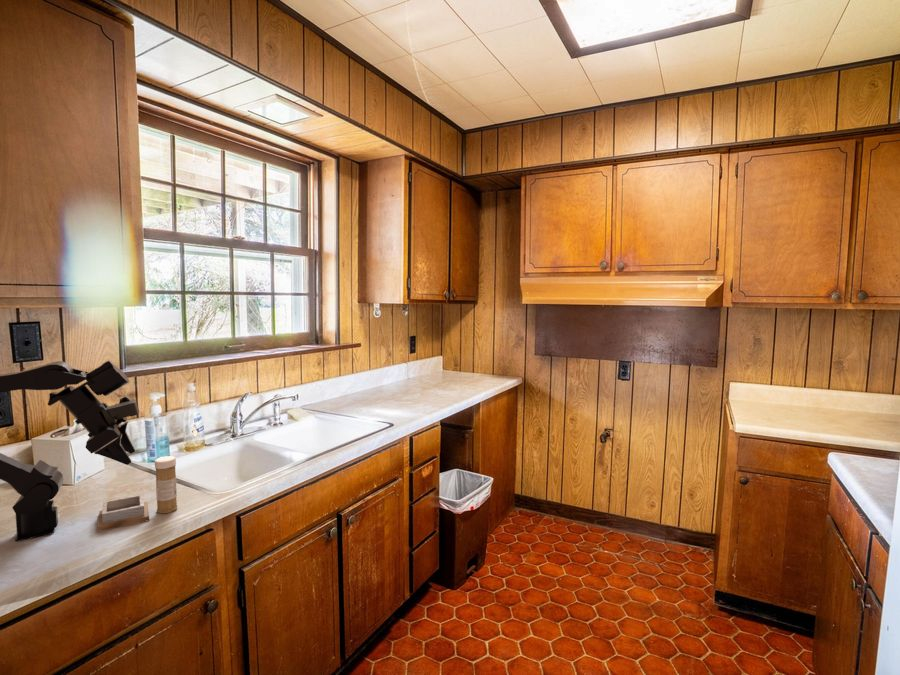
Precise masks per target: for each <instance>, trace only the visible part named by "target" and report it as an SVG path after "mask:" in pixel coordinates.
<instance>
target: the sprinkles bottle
mask: <svg viewBox="0 0 900 675" xmlns="http://www.w3.org/2000/svg"><path fill="white" fill-rule="evenodd" d="M176 465H177V459H176V456H173V455H165V456H161V457H157V458H156V459H155V460H154V468H155V480H156V481H155V486H156V488H155V491H156V492H155V495H156V506H157V507H156V513H158V514H169V513H172V512H174V511H176V510H177V509H178V504H177V501H178V500H177V494H178V493H177V489H178V488H177V475H176Z"/></svg>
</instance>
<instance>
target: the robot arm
mask: <svg viewBox="0 0 900 675" xmlns="http://www.w3.org/2000/svg"><path fill="white" fill-rule="evenodd" d="M129 380H130V379H129V378H128V377H127V376H126V374H125V373H124V371H123V370H122V369H120V368H118V367H117V366H116V365H115V364H114V363H113V362H112V361H111V360H106V361H105V362H103V363H102V364H101V365H99V366H97V368H94V369H93V370H91V371H86V370H82V369H81V370H80V369H77V368H73V367H72V366H71V365H70V364H69V363H67V362H65V361H60V360H58V361H51V362H48V363H45V364H42V365H41V364H40V365H38V366H35V367H31V368H28V369H25V370H21V371H16V372H9V373H3V374H0V393H5V392H6V393H7V392H13V391H20V390H21V391H22V390H29V391H52V392H50V393H49V396H48V397H49V399H48V402H47V405H48V406H50V407H51V406H53V405H54V404H56V403H58V402H59V403H60V404H62V406H64V408H65V409H66V410H67V411H68V412H69V413H70V414H71V416H73V417H74V418H75V420H74V422H75V423H76V425H81V426H82V427H83V428H84V429H85V430H86V431H87V432H88V433H87V436H88V437H89V438H88V439H87V440H86V443H85V449H86V450H87V451H88V452H89V453H90V454H93V453H94V455H99V456H101V457H104V458H108V459H111V460H114V461H116V462H118V463H122V464H124V465H129V464H131V463H132V460H131V458H130V456H129V455H128V453H129V454H134V453H135V452H136V450H135V447H134V445H133V443H132V441H131V439H130V437H129V435H128V432H127V428H128V422H129V421H127V420H128V417H135V416H138V415H139V413H140V410H139V407H138V406H139V405H138V401H137V400H136V399H131V398H130V397H129V396H128V395H127V396H122V397H120V399H119V402H118V403H115V404H113V405H109V404H107V402H101V401H100V400H99V399H98V397H97V396H104V397H108V396H109V395H110V394H112V393H114V392H115V391H118V390H119V389H121V388H122V387H124V386H126V385H127V384H129V383H130V381H129ZM83 381H85V382H83ZM82 382H83V383H82ZM80 383H82V384H80ZM78 384H80V385H78ZM73 385H78V386H76V387H74V386H73ZM65 386H67V387H65ZM64 387H65V388H64ZM62 388H64V389H62ZM59 389H61V390H60V391H58V392H57V391H55V390H59ZM58 469H59V467H58V466H53V465H50V464H49V463H47V462H46V461H44V460H41V459H39V460H38V461H37V462H36V464H28V463H23V462H20V461H19V460H17V459H15V458H13V457H11V456H8V455H6V454H3V453H1V452H0V480H1V481H4V482H6V483H7V484H9V486H11V487H12V489H14V491H15V492H16V493H17V494H19V497H18V499H17V500H16V502H15V503H14V504H13V506H12V510H13V511H14V513H15V526H16V535H15V538H14V540H15V542H19V541H23V540H24V541H25V540H28V539H33V538H34V539H35V538H37V537H43V536H48V535H52V534H54V532H55V529H56V528H57V527H58V523H59V517H58V515H59V514H58V506H57V505H56V506H55V503H54V500H53V499H54V498H55V497H56V496H57V494H58V493H59V491H60V490H61V488H62V485H63V484H64V480H65V479H64V476H63V473H62V472H61V471H59V470H58Z"/></svg>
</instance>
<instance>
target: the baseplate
mask: <svg viewBox="0 0 900 675" xmlns="http://www.w3.org/2000/svg"><path fill="white" fill-rule="evenodd" d="M134 507H135V506H134ZM129 508H130V507H129ZM102 510H103V509H102ZM102 510H99V512H98V521H97V532H102V531H105V530H109V529H110V530H111V529H114V528H115V527H116V528H120V526H121V527H124V526H129V525H134V523H135V524H139V523H143V522H142V521H144V522H147V521H146V520H148V521H150V512H149V502H148V501H144V515H145V516H141V517H137V518H132V519H127V520H122V521H117V522H113V523H108V524H103V523H102ZM138 522H139V523H138ZM116 528H115V529H116Z"/></svg>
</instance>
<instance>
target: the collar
mask: <svg viewBox="0 0 900 675" xmlns="http://www.w3.org/2000/svg"><path fill="white" fill-rule="evenodd" d="M144 502H145V501H144V494H143V493H141V494H137V495H132V496H127V497H126V496H125V497H121V498H114V499H111V500H105V501H103V502H102V503H103V504H102V523H103V524H108V523H113V522H117V521H122V520H127V519H132V518H137V517H141V516H145V515H144ZM134 506H135V507H134ZM129 507H130V508H129Z"/></svg>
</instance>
